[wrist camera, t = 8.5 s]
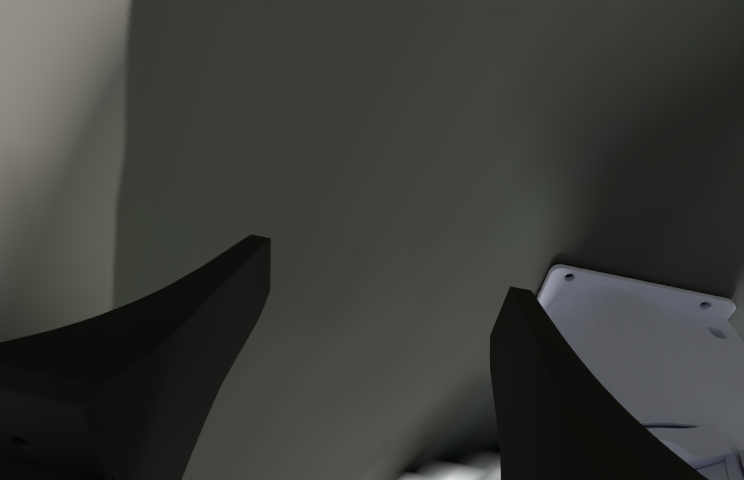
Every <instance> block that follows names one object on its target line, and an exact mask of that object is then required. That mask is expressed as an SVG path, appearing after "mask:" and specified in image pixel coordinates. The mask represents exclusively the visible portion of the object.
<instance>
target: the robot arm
mask: <svg viewBox="0 0 744 480" xmlns="http://www.w3.org/2000/svg"><path fill="white" fill-rule="evenodd" d="M270 243H271V238H266V237H261V236H256V235H249V236H248V237H246V238H245V239H243V240H242V241H240V242H239V243H237V244H235V245H234V246H232V247H231V248H230V249H228V250H227V251H225V252H223V253H222V254H220V255H219V256H217V257H216V258H214V259H213V260H211V261H210V262H208V263H206V264H205V265H203V266H202V267H200V268H199V269H197V270H195V271H193V272H192V273H190V274H188V275H186V276H185V277H183V278H181V279H179V280H178V281H176V282H174V283H172V284H170V285H169V286H167V287H165V288H163V289H161V290H159V291H157V292H154V293H152V294H150V295H148V296H146V297H144V298H141V299H139V300H137V301H135V302H132V303H130V304H127V305H125V306H122V307H119V308H117V309H114V310H112V311H109V312H106V313H104V314H101V315H99V316H96V317H93V318H90V319H87V320H84V321H81V322H78V323H74V324H71V325H68V326H64V327H61V328H58V329H54V330H50V331H47V332H43V333H39V334H34V335H30V336H26V337H22V338H18V339H14V340H10V341H5V342H0V480H181V479H182V477H183V474H184V472H185V469H186V467H187V464H188V461H189V459H190V456H191V454H192V451H193V449H194V447H195V444H196V442H197V439H198V437H199V435H200V432H201V430H202V427H203V425H204V423H205V420H206V418H207V416H208V413H209V411H210V409H211V407H212V404H213V402H214V400H215V397H216V395H217V393H218V391H219V389H220V387H221V385H222V383H223V381H224V379H225V377H226V375H227V374H228V372H229V370H230V368H231V367H232V365H233V363H234V361H235V360H236V358H237V356H238V354H239V353H240V351H241V349H242V347H243V346H244V344H245V342H246V340H247V339H248V337H249V335H250V333H251V332H252V330H253V328H254V326H255V324H256V323H257V321H258V319H259V317H260V314H261V312H262V310H263V307H264V305H265V302H266V300H267V297H268V295H269V292H270ZM567 274H573V275H572V276H571V277H565V276H566V275H567ZM703 302H706V303H705V304H702V305H700V304H701V303H703ZM735 309H736V306H735V304H734V303H733V302H732V301H731V300H730V299H728V298H723V297H719V296H714V295H709V294H704V293H699V292H694V291H689V290H684V289H680V288H675V287H670V286H665V285H660V284H655V283H650V282H645V281H641V280H636V279H631V278H626V277H621V276H616V275H611V274H606V273H602V272H597V271H592V270H587V269H582V268H577V267H572V266H567V265H563V264H558V265H554V266H553V267H551V269H550V270H549V272H548V275H547V277H546V279H545V281H544V283H543V286H542V288H541V290H540V292H539V294H538V297H537V298H536V297H535V295H534V294H533V292H532V291H531V290H526V289H521V288H516V287H511V286H510V288H509V291H508V293H507V296H506V298H505V300H504V303H503V305H502V308H501V310H500V313H499V315H498V318H497V320H496V323H495V325H494V327H493V330H492V332H491V335H490V371H491V379H492V387H493V395H494V403H495V411H496V418H497V426H498V433H499V443H500V459H501V480H744V342H743V340H742V339H741V338H740V336H739V335H738V333H737V332H736V331H735V329H734V328H733V327H732V325H731V324H730V323H729V321H728V319H729V317H730V316H731V315H732V314H733V312H734V311H735Z"/></svg>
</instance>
